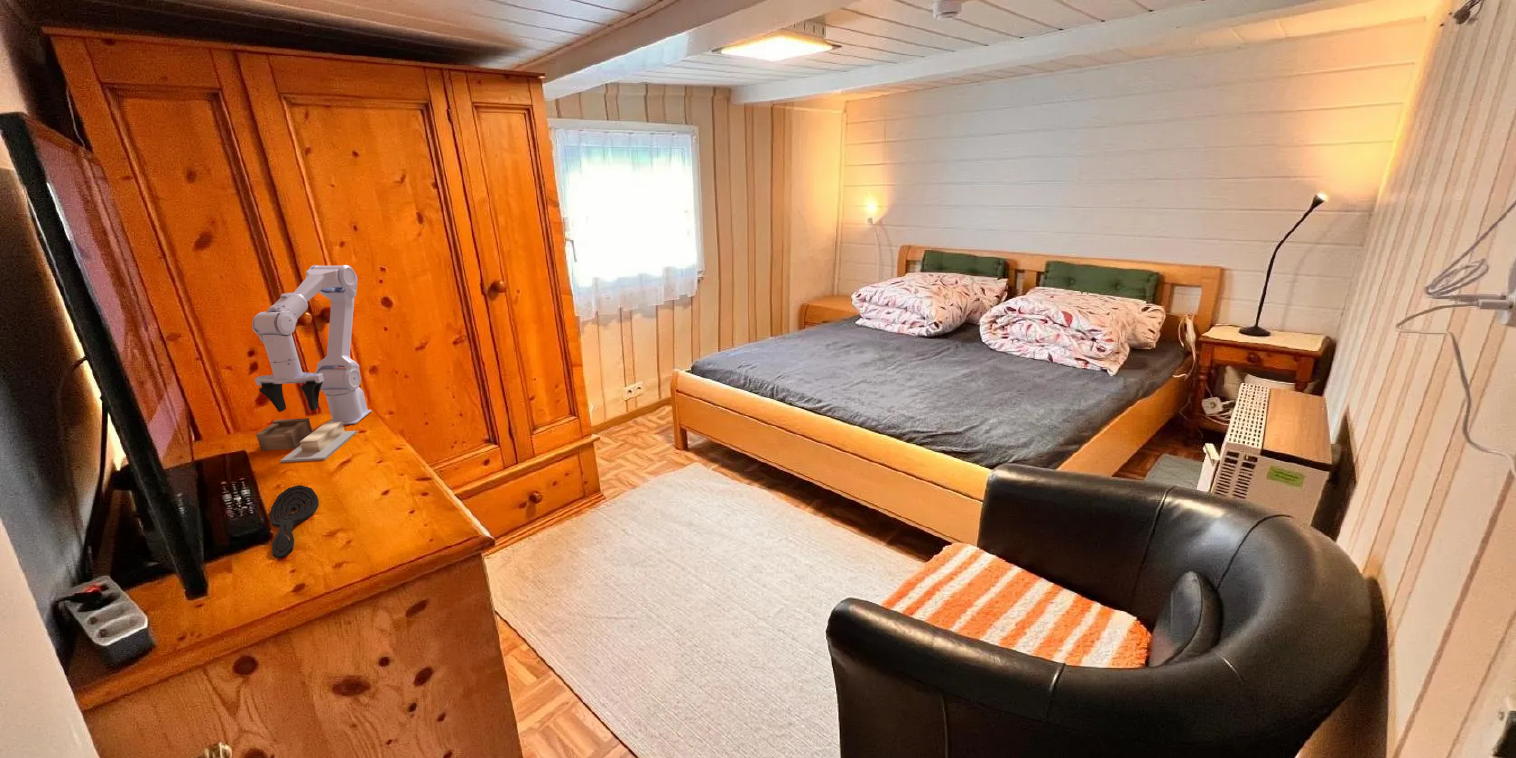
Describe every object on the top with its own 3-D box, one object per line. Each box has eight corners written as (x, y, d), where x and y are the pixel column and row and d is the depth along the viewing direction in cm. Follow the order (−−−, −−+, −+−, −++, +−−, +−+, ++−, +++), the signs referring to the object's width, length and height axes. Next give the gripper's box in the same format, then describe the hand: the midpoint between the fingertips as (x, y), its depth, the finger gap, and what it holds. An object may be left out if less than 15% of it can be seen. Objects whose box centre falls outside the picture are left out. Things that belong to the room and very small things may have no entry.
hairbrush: (249, 554, 106) (270, 487, 125) (255, 570, 107) (275, 501, 127) (306, 540, 110) (317, 477, 129) (311, 556, 111) (321, 491, 131)
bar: (328, 432, 159) (326, 422, 158) (344, 431, 159) (342, 421, 158) (302, 452, 147) (299, 441, 146) (319, 451, 148) (316, 440, 147)
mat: (317, 434, 159) (316, 432, 158) (357, 432, 160) (356, 430, 160) (280, 462, 144) (280, 460, 144) (325, 459, 145) (324, 457, 145)
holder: (281, 436, 158) (276, 419, 156) (313, 435, 159) (308, 418, 157) (261, 450, 150) (255, 433, 148) (295, 448, 151) (290, 431, 149)
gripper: (240, 365, 140) (257, 417, 145) (306, 362, 142) (320, 414, 147) (259, 356, 147) (275, 406, 152) (322, 354, 149) (335, 403, 154)
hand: (298, 409), depth 150 cm, fingers open, 7 cm apart
